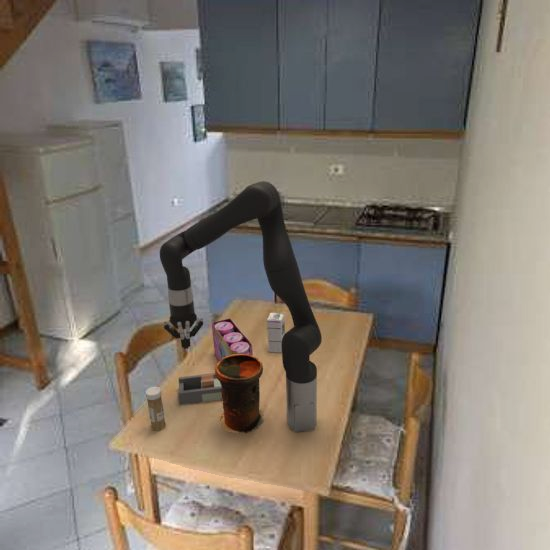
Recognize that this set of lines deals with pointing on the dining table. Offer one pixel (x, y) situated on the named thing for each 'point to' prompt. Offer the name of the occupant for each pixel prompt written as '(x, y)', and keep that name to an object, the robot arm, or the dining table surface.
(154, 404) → the sprinkles bottle
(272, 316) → the syrup box
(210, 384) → the block
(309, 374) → the robot arm
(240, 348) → the gum box
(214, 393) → the channel
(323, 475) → the dining table surface
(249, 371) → the vessel
